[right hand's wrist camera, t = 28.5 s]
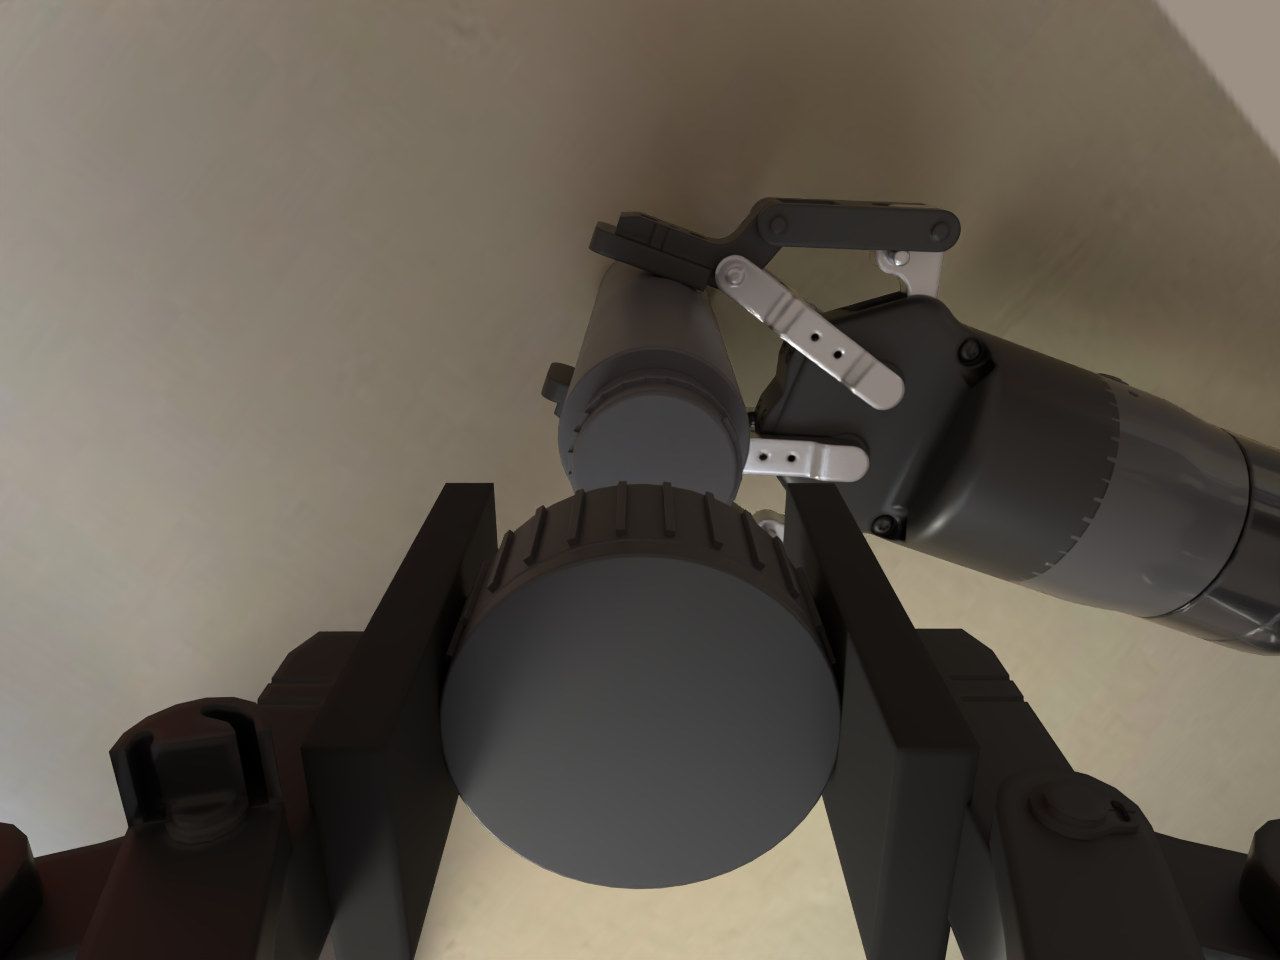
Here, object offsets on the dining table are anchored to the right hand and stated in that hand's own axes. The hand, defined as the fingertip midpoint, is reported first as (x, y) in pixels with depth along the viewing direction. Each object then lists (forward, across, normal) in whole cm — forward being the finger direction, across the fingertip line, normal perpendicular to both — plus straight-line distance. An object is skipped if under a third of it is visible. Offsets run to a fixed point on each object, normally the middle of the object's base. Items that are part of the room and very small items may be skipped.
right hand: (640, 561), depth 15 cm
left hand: (+15, -2, +1) cm, 16 cm away
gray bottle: (+21, 0, 0) cm, 21 cm away
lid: (-4, 0, 0) cm, 4 cm away
